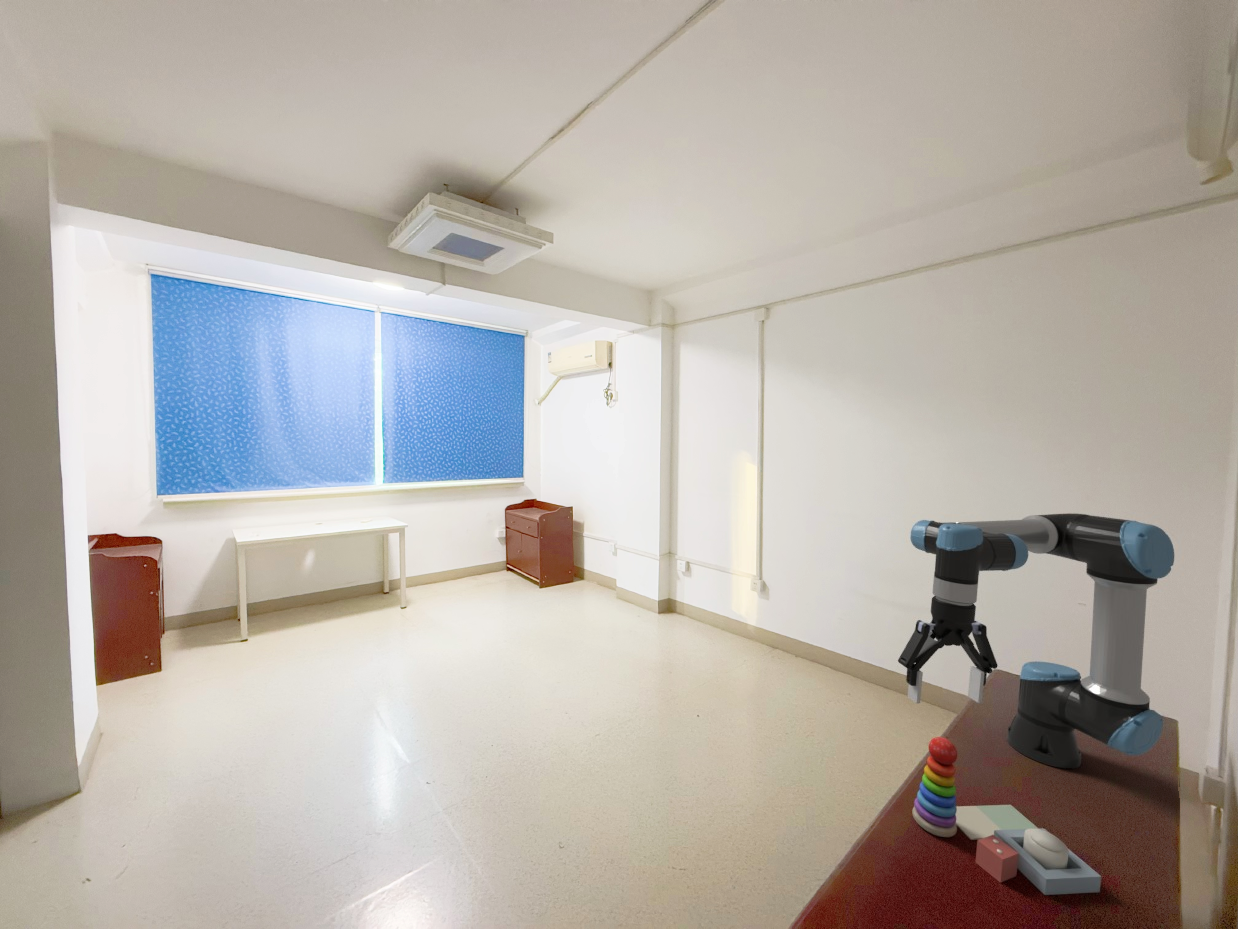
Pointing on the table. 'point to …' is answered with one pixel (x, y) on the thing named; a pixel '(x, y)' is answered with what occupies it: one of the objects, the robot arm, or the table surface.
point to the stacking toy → (938, 790)
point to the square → (974, 822)
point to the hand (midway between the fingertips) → (944, 700)
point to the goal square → (1006, 817)
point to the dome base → (1052, 881)
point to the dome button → (1045, 849)
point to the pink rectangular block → (997, 858)
